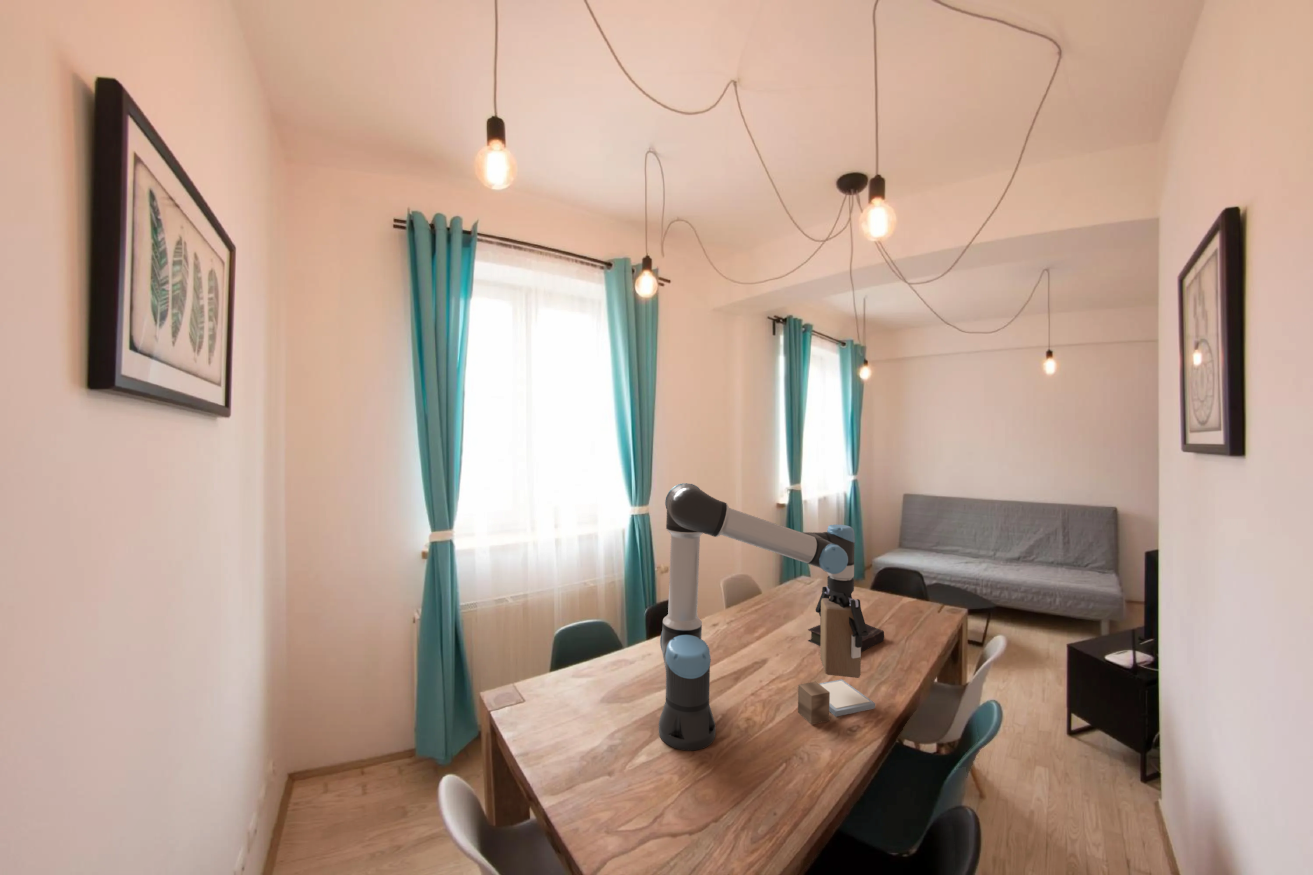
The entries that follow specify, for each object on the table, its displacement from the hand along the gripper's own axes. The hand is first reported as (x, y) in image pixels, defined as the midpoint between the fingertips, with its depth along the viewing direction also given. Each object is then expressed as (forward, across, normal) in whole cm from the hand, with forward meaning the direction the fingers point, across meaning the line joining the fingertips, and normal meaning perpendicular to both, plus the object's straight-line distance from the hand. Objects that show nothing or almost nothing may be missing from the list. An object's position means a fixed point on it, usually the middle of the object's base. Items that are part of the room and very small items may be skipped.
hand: (839, 647), depth 140 cm
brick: (+16, -5, +13) cm, 21 cm away
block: (+7, 0, 0) cm, 7 cm away
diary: (+17, +33, -31) cm, 48 cm away
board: (+16, 0, 0) cm, 16 cm away
